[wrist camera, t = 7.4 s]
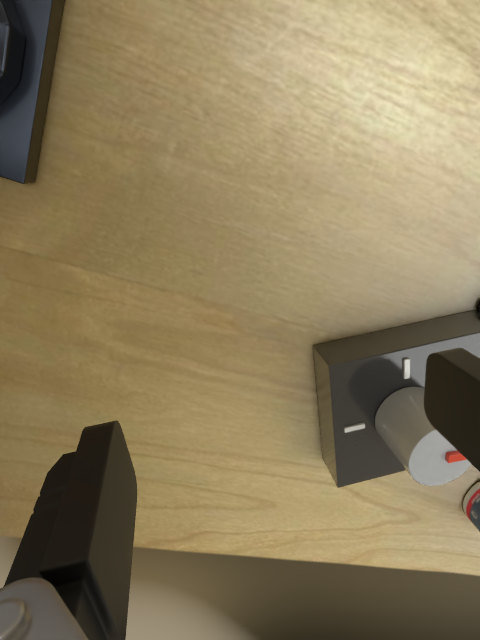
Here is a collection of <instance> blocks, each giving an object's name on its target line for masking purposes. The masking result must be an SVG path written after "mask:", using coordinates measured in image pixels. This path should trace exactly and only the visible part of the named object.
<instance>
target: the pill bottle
mask: <svg viewBox="0 0 480 640" xmlns="http://www.w3.org/2000/svg"><path fill="white" fill-rule="evenodd" d="M463 510H464V512H465V514H466V516H467V517H468V518H469V519H470V521H471V522H472V523H473V524H474V525H475V526H476V528H477V529H478V530H479V531H480V481H479V482H478V483H476V484H475V485H474V486H473V487H472V488H471V489H470V490H469V491H468V493H467V494H466V496H465V498H464V501H463Z"/></svg>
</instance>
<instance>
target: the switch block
mask: <svg viewBox="0 0 480 640" xmlns="http://www.w3.org/2000/svg"><path fill="white" fill-rule="evenodd" d="M64 3H65V0H0V177H3V178H6V179H10V180H13V181H16V182H19V183H22V184H25V183H34V182H35V180H36V174H37V168H38V162H39V156H40V150H41V143H42V137H43V131H44V125H45V119H46V113H47V107H48V101H49V95H50V89H51V82H52V76H53V70H54V64H55V58H56V52H57V46H58V40H59V34H60V28H61V21H62V15H63V9H64Z"/></svg>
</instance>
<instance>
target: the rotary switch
mask: <svg viewBox="0 0 480 640" xmlns="http://www.w3.org/2000/svg"><path fill="white" fill-rule="evenodd" d="M454 348H463V349H465V350H467V351H468V352H470V353H472V354H473V355H475V356H477V357H478V358H480V312H479V311H476V310H472V311H467V312H463V313H458V314H454V315H449V316H444V317H440V318H435V319H431V320H426V321H422V322H417V323H412V324H408V325H403V326H399V327H394V328H390V329H385V330H381V331H376V332H371V333H367V334H362V335H358V336H353V337H349V338H344V339H340V340H335V341H330V342H326V343H321V344H317V345H313V354H314V366H315V377H316V388H317V399H318V411H319V422H320V433H321V444H322V456H323V460H324V462H325V464H326V466H327V468H328V470H329V472H330V473H331V475H332V477H333V479H334V481H335V483H336V485H337V487H342V486H346V485H350V484H354V483H358V482H362V481H366V480H370V479H373V478H377V477H381V476H385V475H389V474H393V473H397V472H401V471H405V470H406V469H405V468H404V466H403V465H402V464H401V463H400V461H399V460H398V459H397V457H396V456H395V455H394V454H393V452H392V451H391V450H390V448H389V447H388V446H387V445H386V443H385V442H384V441H383V439H382V438H381V437H380V436H379V434H378V433H377V431H376V428H375V416H376V413H377V411H378V409H379V407H380V405H381V404H382V403H383V401H384V400H385V399H386V398H387V397H388V396H390V395H391V394H393V393H394V392H396V391H398V390H400V389H403V388H407V387H421V388H425V372H426V360H427V358H428V356H429V355H430V354H432V353H436V352H440V351H445V350H450V349H454Z"/></svg>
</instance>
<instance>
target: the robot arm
mask: <svg viewBox="0 0 480 640" xmlns="http://www.w3.org/2000/svg"><path fill="white" fill-rule="evenodd" d="M424 410H425V414H426V416H427V418H428V420H429V422H430V424H431V425H432V426H433V427H434V428H435V429H436V430H437V431H438V432H439V433H440V434H441V435H442V436H443V437H444V438H445V439H446V440H447V441H448V442H449V443H450V444H451V445H453V446H454V447H455V448H456V449H457V450H458V451H459V452H460V453H461V454H462V455H463V456H464V457H465V458H466V459H467V460H468V461H469V462H470V463H471V464H472V465H473V466H474V467H475V468H477V469H478V470H479V471H480V358H478V357H477V356H475V355H473V354H472V353H470V352H468V351H467V350H465V349H463V348H454V349H450V350H445V351H440V352H436V353H432V354H430V355H429V356H428V358H427V360H426V372H425V388H424ZM136 504H137V483H136V476H135V471H134V468H133V464H132V461H131V458H130V454H129V451H128V448H127V445H126V441H125V438H124V435H123V432H122V428H121V426H120V423H119V422H118V421H112V422H107V423H102V424H98V425H93V426H89V427H85V428H84V429H83V431H82V435H81V438H80V441H79V444H78V447H77V451H76V452H72V453H67V454H63V455H62V456H61V458H60V459H59V460H58V461H57V462H56V464H55V465H54V466H53V467H52V468H51V469H50V471H49V472H48V473H47V476H46V478H45V481H44V483H43V486H42V489H41V491H40V497H38V499H37V502H36V504H35V507H34V509H33V510H34V514H32V515H31V517H30V520H29V523H28V525H27V528H26V530H25V533H24V536H23V538H22V541H21V543H20V546H19V549H18V551H17V554H16V556H15V559H14V562H13V564H12V567H11V569H10V572H9V575H8V577H7V580H6V582H5V585H4V587H3V588H1V589H0V640H125V636H126V625H127V613H128V601H129V589H130V576H131V565H132V553H133V541H134V528H135V516H136Z"/></svg>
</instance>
